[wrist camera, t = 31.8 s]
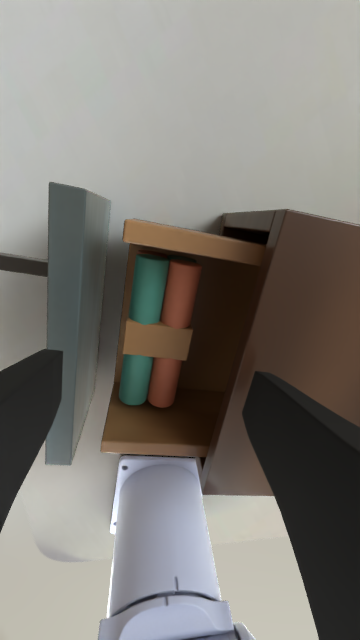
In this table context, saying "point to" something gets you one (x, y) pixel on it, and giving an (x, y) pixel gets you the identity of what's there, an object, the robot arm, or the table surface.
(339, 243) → the cabinet
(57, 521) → the table surface
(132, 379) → the teal and pink cylinders
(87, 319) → the drawer
